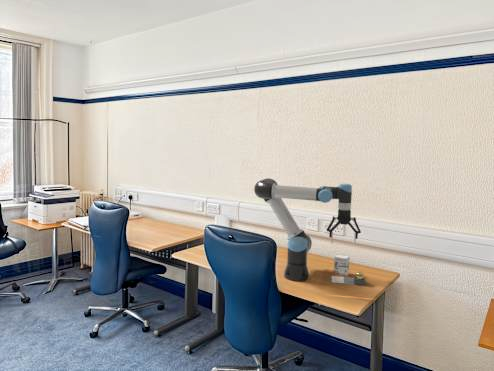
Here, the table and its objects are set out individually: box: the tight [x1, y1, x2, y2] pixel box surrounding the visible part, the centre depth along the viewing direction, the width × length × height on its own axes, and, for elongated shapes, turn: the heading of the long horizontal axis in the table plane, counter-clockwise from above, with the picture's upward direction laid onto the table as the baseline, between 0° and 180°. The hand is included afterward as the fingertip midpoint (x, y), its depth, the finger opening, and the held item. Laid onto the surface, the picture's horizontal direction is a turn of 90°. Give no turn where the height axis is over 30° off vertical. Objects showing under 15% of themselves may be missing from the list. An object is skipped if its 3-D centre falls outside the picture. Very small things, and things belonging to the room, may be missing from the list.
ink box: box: [333, 254, 350, 276], centre depth 235 cm, size 9×5×12 cm, turn 62°
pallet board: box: [330, 275, 366, 286], centre depth 223 cm, size 19×11×1 cm, turn 79°
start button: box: [355, 271, 365, 280], centre depth 219 cm, size 4×4×6 cm
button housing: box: [353, 275, 366, 286], centre depth 219 cm, size 6×6×3 cm
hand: (343, 243), depth 233 cm, fingers open, 13 cm apart
